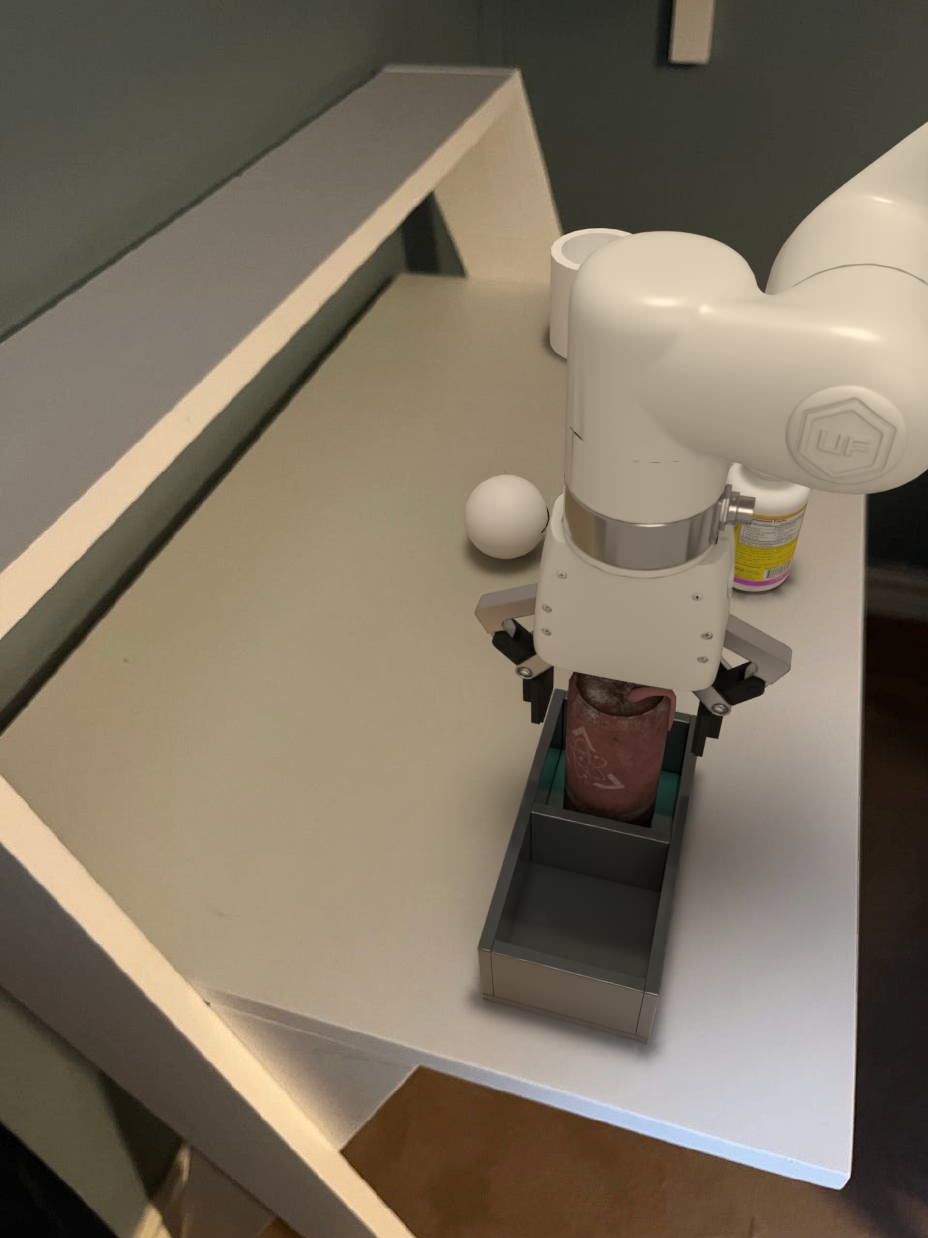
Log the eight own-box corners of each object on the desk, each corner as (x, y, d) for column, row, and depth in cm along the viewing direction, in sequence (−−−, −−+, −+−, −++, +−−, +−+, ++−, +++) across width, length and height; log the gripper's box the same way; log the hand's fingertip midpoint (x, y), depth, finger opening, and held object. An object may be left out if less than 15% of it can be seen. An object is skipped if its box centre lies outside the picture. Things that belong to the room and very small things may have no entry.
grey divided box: (691, 774, 69) (703, 716, 64) (647, 1044, 56) (658, 996, 51) (553, 746, 71) (554, 687, 66) (481, 998, 59) (476, 948, 54)
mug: (658, 374, 104) (668, 281, 97) (565, 385, 104) (568, 293, 96) (626, 312, 114) (633, 223, 106) (541, 322, 113) (542, 233, 105)
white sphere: (542, 581, 83) (543, 515, 78) (458, 572, 85) (453, 507, 79) (558, 507, 90) (559, 442, 85) (480, 500, 91) (476, 436, 86)
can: (655, 855, 63) (679, 726, 53) (559, 844, 64) (564, 715, 54) (657, 778, 68) (679, 645, 57) (567, 769, 68) (572, 636, 58)
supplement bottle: (715, 536, 86) (737, 415, 77) (792, 549, 84) (824, 427, 75) (703, 587, 82) (725, 465, 72) (784, 602, 80) (817, 479, 71)
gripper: (832, 480, 47) (770, 702, 59) (489, 436, 51) (498, 651, 63) (825, 586, 42) (760, 803, 54) (447, 527, 46) (466, 741, 58)
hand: (619, 721), depth 59 cm, fingers open, 9 cm apart
